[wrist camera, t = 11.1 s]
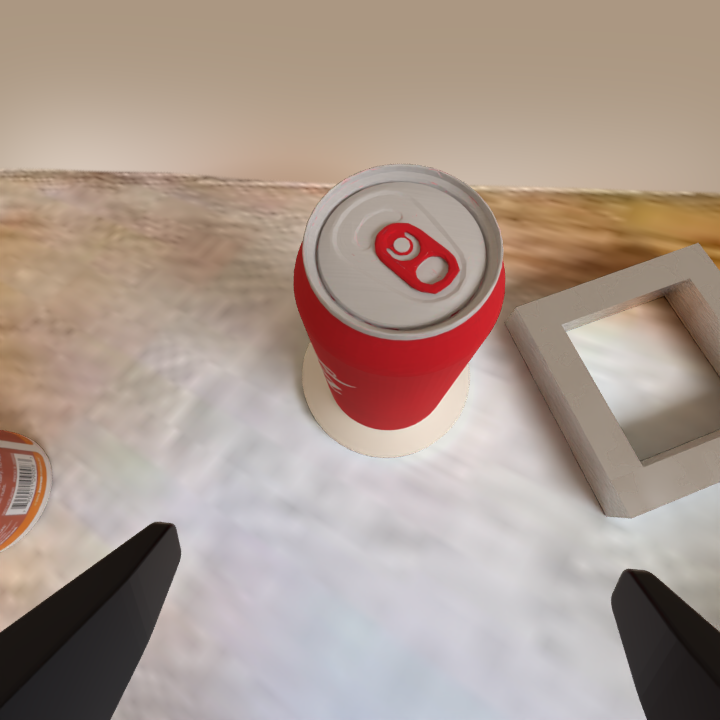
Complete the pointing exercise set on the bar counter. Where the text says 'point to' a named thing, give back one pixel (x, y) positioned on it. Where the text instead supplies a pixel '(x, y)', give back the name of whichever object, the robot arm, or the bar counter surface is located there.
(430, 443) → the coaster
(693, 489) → the square frame
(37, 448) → the pill bottle
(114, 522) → the bar counter surface
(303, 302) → the beverage can
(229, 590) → the bar counter surface
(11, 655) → the robot arm
